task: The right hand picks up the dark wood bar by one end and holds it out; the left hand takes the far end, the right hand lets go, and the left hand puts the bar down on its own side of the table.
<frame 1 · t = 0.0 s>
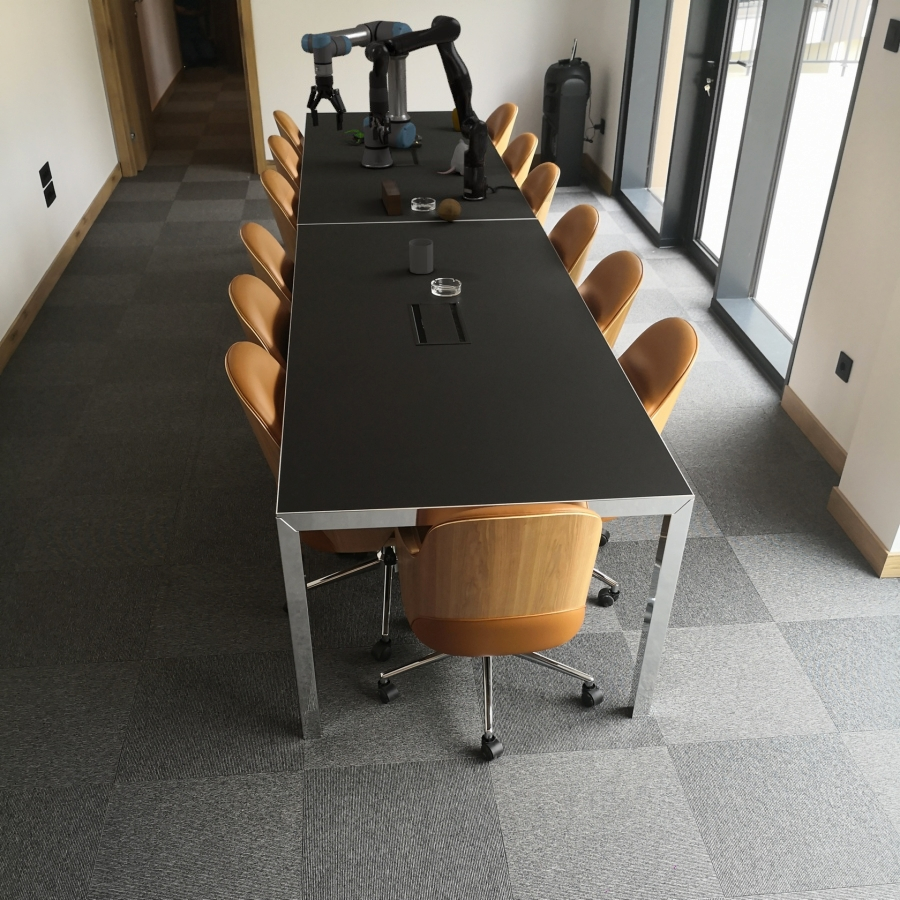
left hand: (327, 128, 372), 28 cm above the table, tool pointing down, fingers open, 13 cm apart
right hand: (380, 142, 346), 29 cm above the table, tool pointing down, fingers open, 8 cm apart
bar: (391, 206, 371), on the table
cup: (421, 270, 308), on the table
green dinosaur figurine: (371, 142, 466), on the table
toy: (454, 175, 412), on the table
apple: (461, 130, 491), on the table
potato: (449, 220, 356), on the table
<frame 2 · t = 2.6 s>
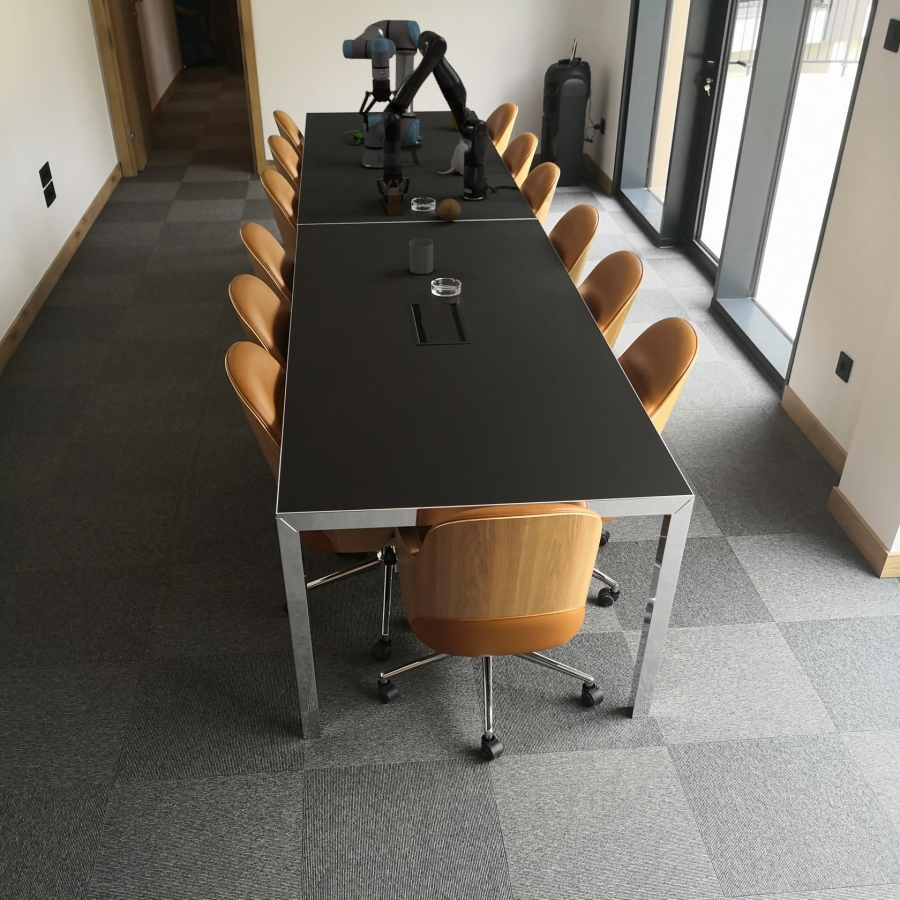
left hand: (383, 130, 379), 26 cm above the table, tool pointing down, fingers open, 13 cm apart
right hand: (393, 203, 362), 4 cm above the table, tool pointing down, fingers closed on bar, 5 cm apart
bar: (391, 206, 371), on the table, touching right hand
everything else where it was.
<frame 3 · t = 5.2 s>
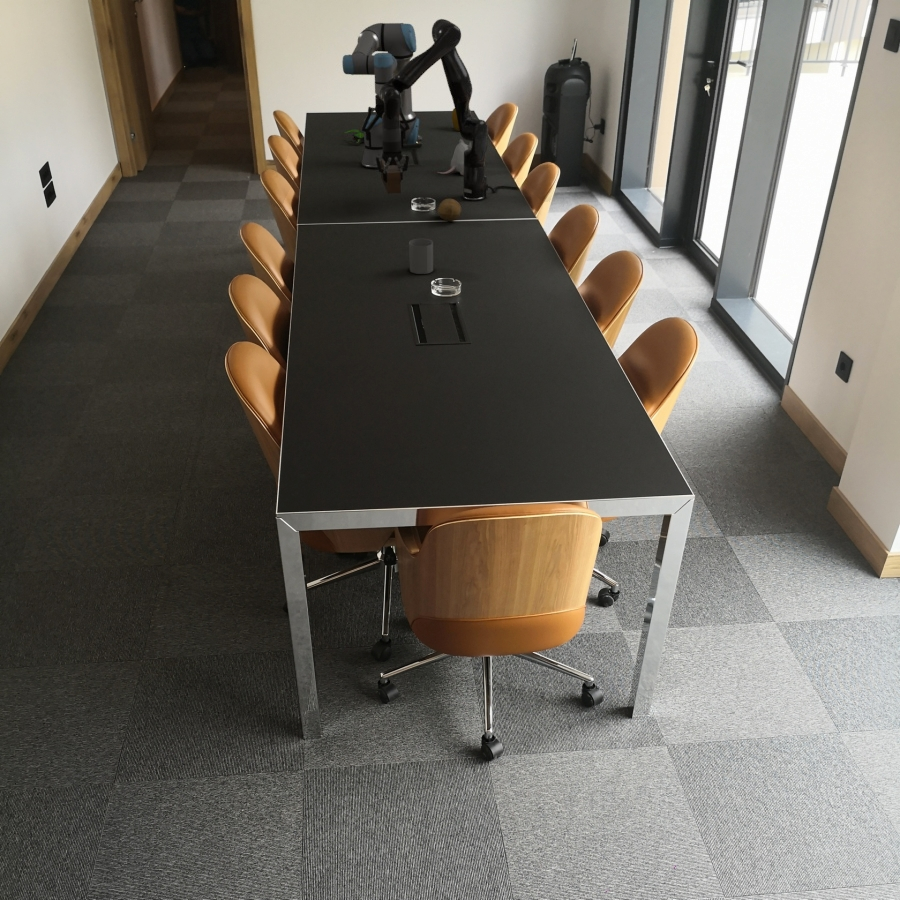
left hand: (386, 147, 368), 22 cm above the table, tool pointing down, fingers open, 13 cm apart
right hand: (393, 181, 357), 13 cm above the table, tool pointing down, fingers closed on bar, 5 cm apart
bar: (390, 185, 366), point 9 cm above the table, touching right hand
everything else where it was.
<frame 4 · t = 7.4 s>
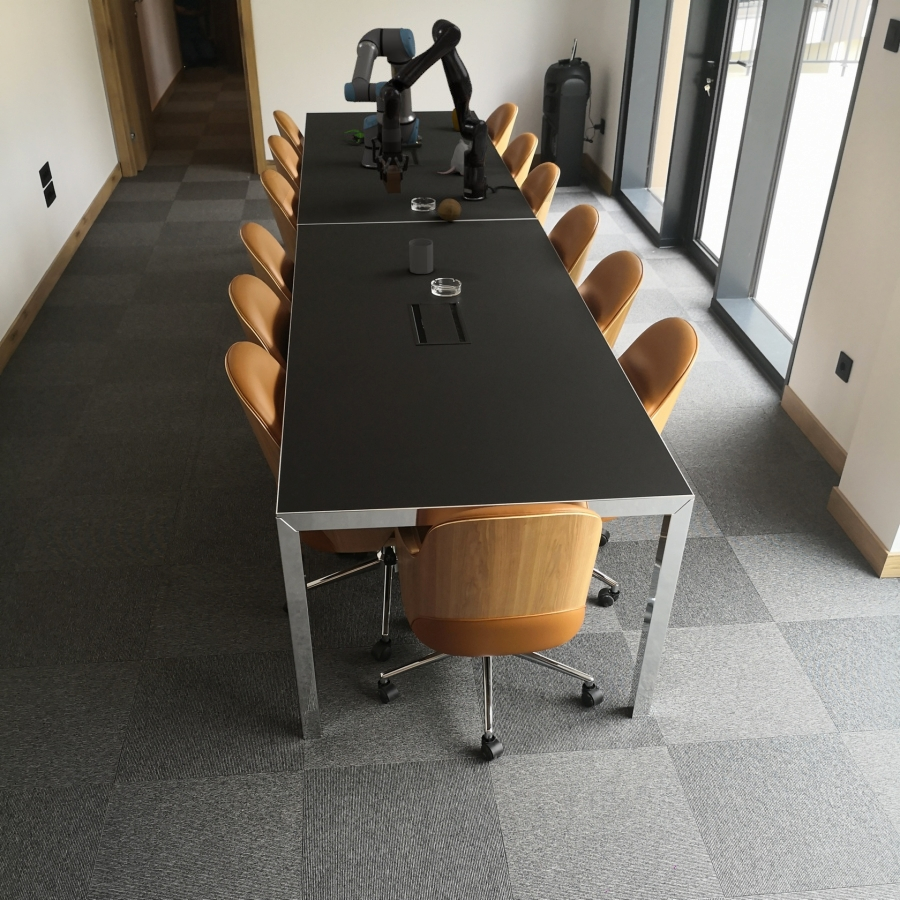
left hand: (388, 178, 373), 10 cm above the table, tool pointing down, fingers closed on bar, 5 cm apart
right hand: (393, 181, 357), 13 cm above the table, tool pointing down, fingers closed on bar, 5 cm apart
bar: (390, 185, 366), point 9 cm above the table, touching left hand, right hand
everything else where it was.
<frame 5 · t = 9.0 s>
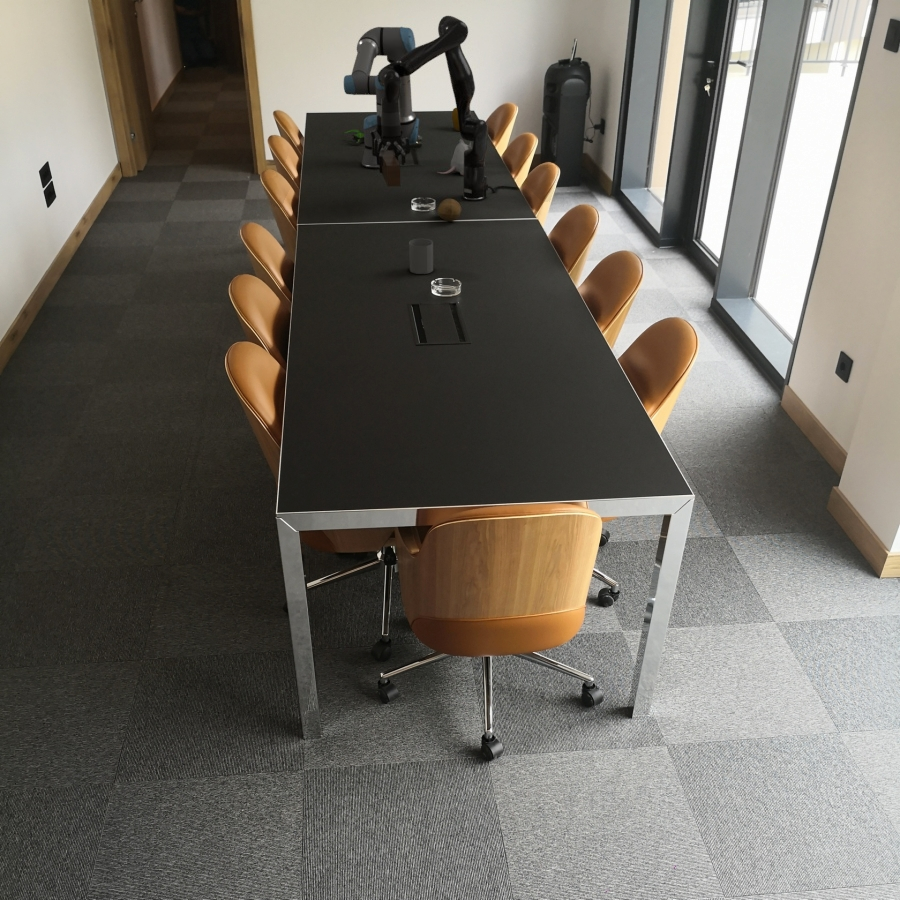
left hand: (387, 171, 371), 13 cm above the table, tool pointing down, fingers closed on bar, 5 cm apart
right hand: (392, 165, 351), 20 cm above the table, tool pointing down, fingers open, 8 cm apart
bar: (390, 178, 365), point 12 cm above the table, touching left hand
everything else where it was.
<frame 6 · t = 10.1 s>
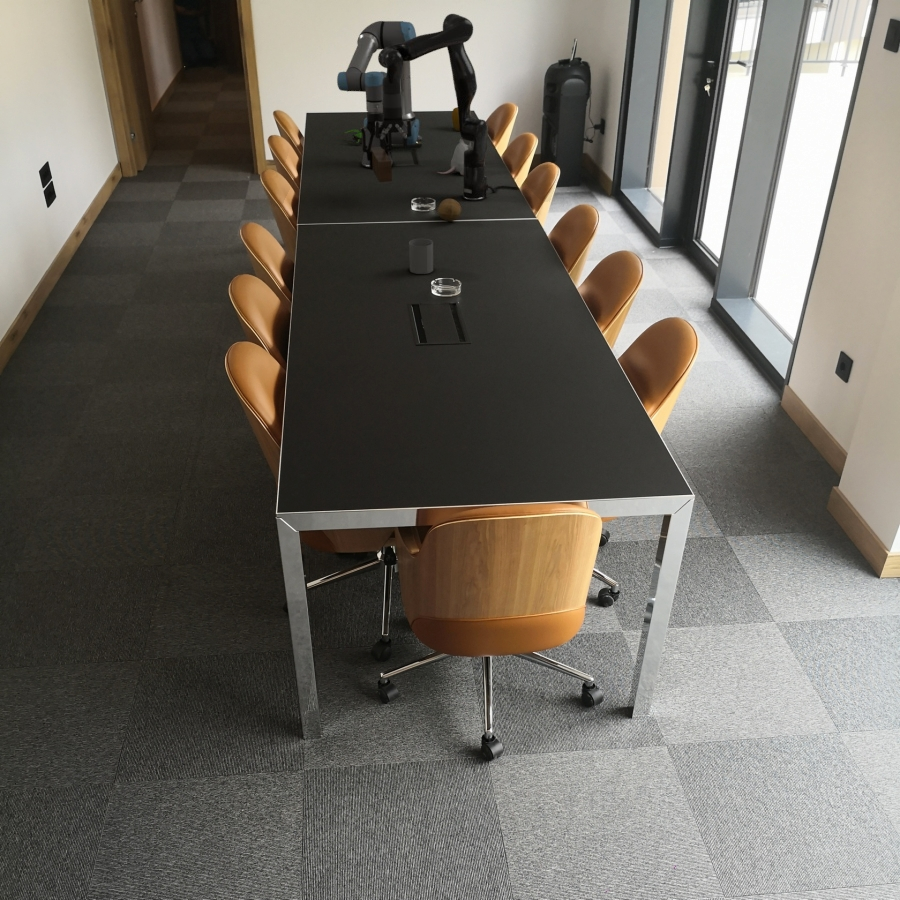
left hand: (378, 167, 379), 12 cm above the table, tool pointing down, fingers closed on bar, 5 cm apart
right hand: (393, 148, 344), 28 cm above the table, tool pointing down, fingers open, 8 cm apart
bar: (381, 174, 372), point 11 cm above the table, touching left hand
everything else where it was.
when the left hand's fingers open (1 cm above the table, at t = 13.3 s): bar stays where it is, on the table.
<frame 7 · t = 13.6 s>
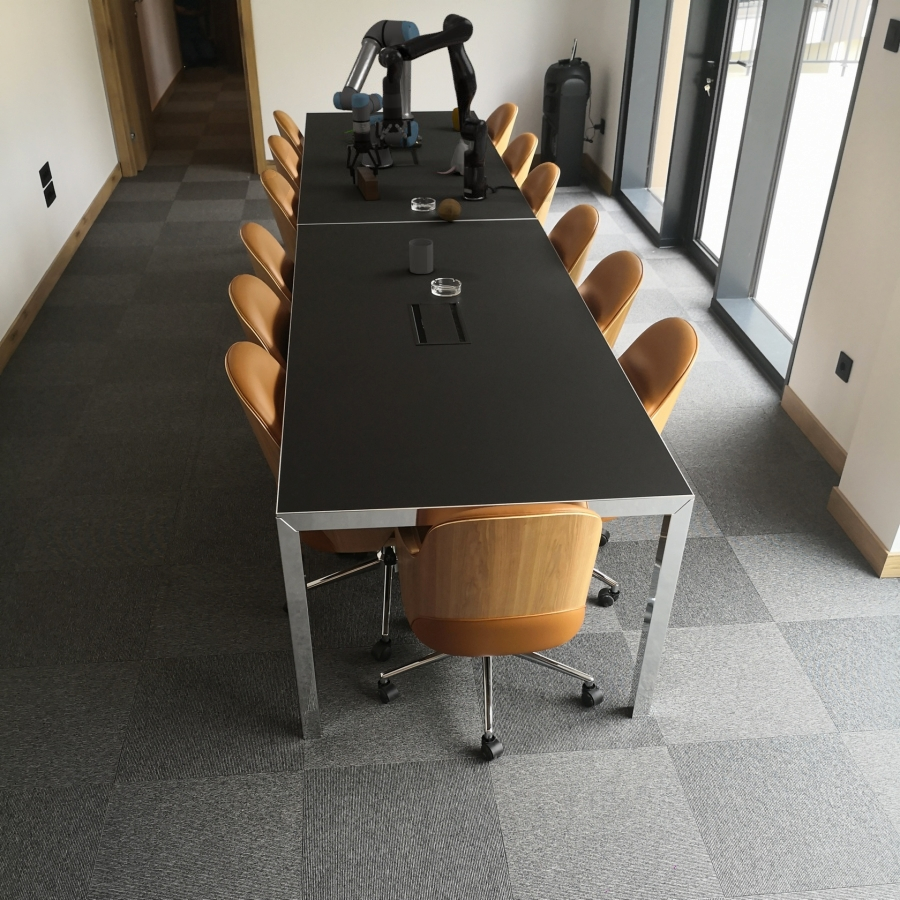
left hand: (364, 182, 394), 2 cm above the table, tool pointing down, fingers open, 9 cm apart
right hand: (393, 148, 344), 28 cm above the table, tool pointing down, fingers open, 8 cm apart
bar: (367, 192, 389), on the table
everything else where it was.
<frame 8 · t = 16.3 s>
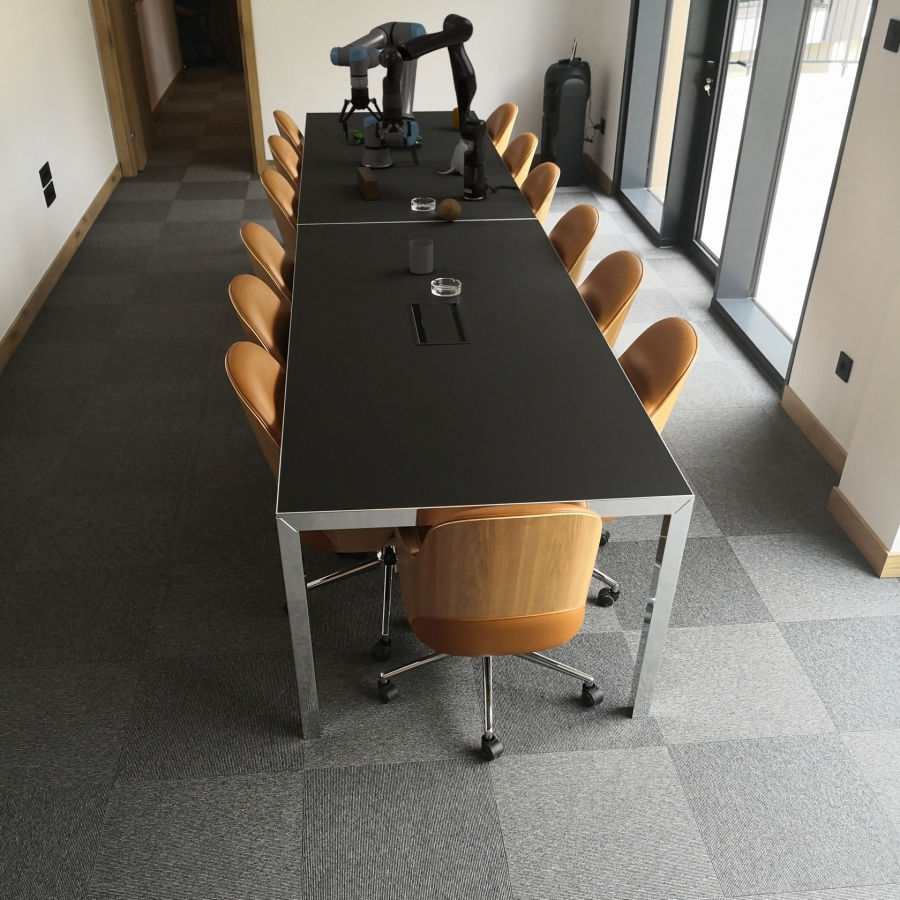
left hand: (362, 138, 383), 22 cm above the table, tool pointing down, fingers open, 13 cm apart
right hand: (393, 148, 344), 28 cm above the table, tool pointing down, fingers open, 8 cm apart
nothing on the table moved.
at the end: bar inside the target area (8.1 cm from its centre), on the table; the left hand is holding nothing; the right hand is holding nothing; bar at rest at the end (0.0 cm/s) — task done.
